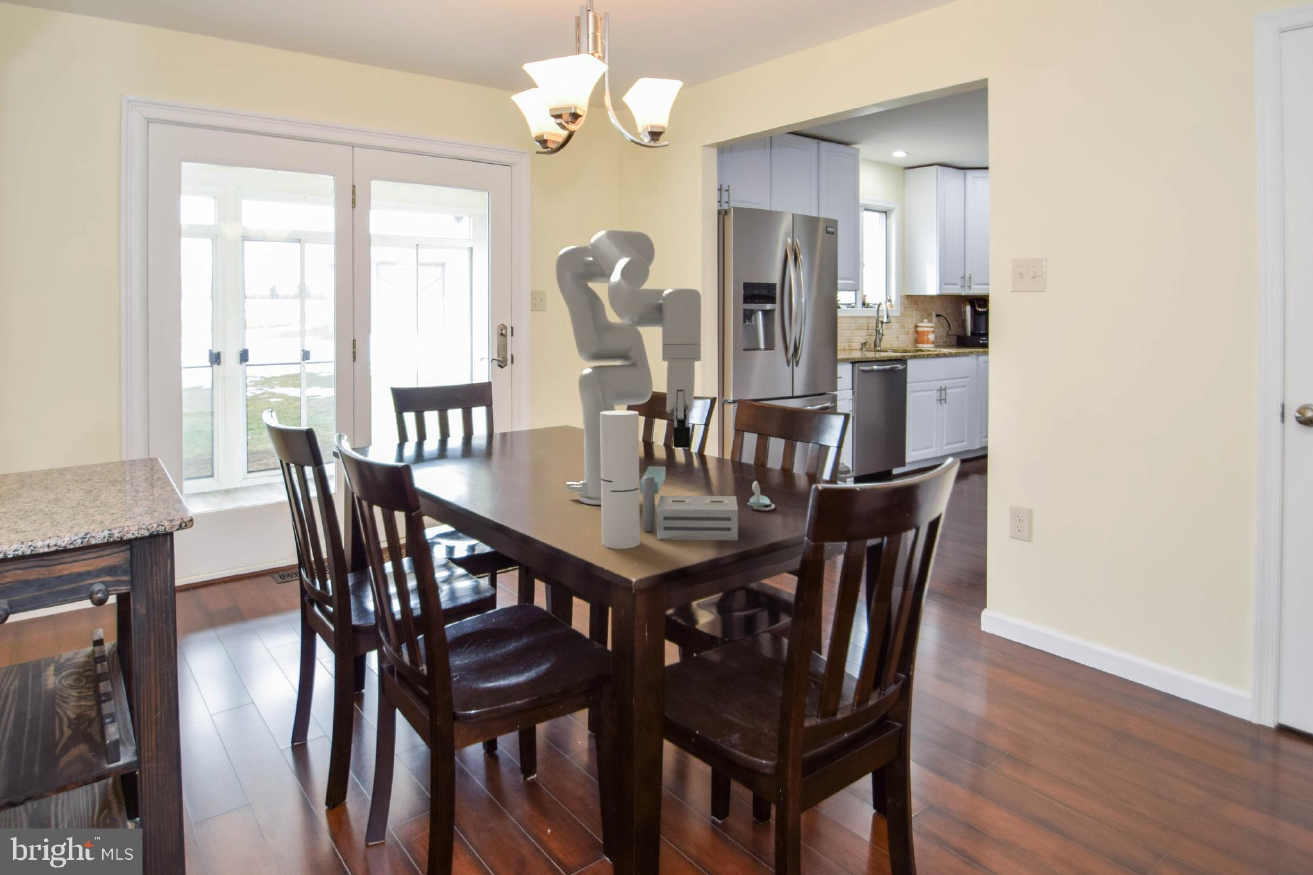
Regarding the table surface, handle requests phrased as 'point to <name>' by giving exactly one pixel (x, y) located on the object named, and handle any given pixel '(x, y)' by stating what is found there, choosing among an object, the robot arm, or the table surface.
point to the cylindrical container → (620, 478)
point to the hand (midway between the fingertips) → (681, 446)
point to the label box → (697, 518)
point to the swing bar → (651, 494)
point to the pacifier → (759, 499)
